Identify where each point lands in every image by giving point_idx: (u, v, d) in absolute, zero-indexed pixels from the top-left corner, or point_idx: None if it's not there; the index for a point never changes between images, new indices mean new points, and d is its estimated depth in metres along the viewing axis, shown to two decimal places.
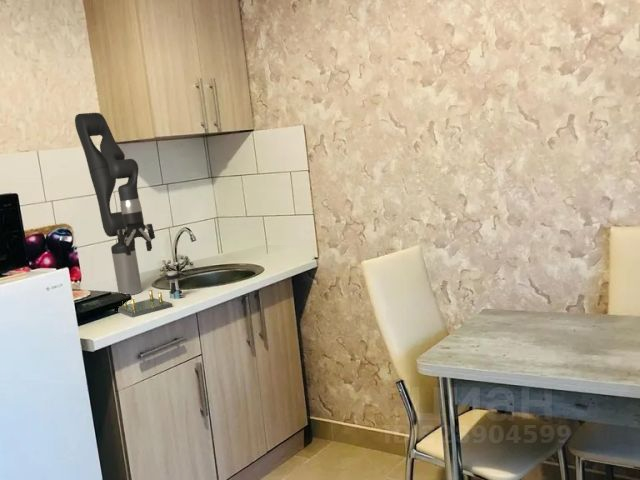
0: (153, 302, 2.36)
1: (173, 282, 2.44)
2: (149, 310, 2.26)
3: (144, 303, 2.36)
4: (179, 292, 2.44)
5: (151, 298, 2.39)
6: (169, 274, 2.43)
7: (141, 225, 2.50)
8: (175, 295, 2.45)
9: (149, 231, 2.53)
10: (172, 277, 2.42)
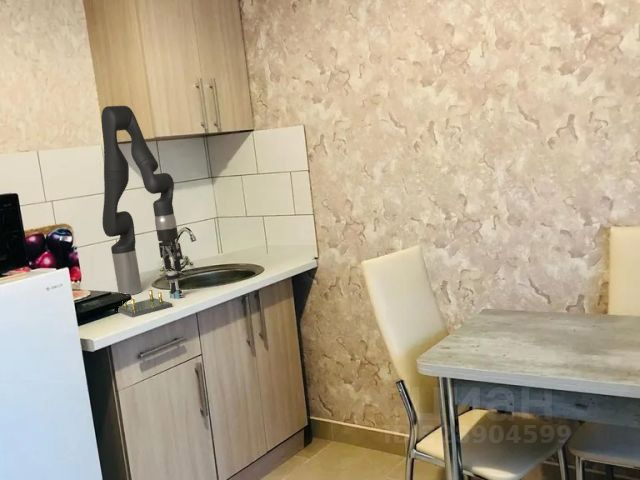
0: (153, 302, 2.36)
1: (173, 282, 2.44)
2: (149, 310, 2.26)
3: (144, 303, 2.36)
4: (179, 292, 2.44)
5: (151, 298, 2.39)
6: (169, 274, 2.43)
7: None
8: (175, 295, 2.45)
9: None
10: (172, 277, 2.42)
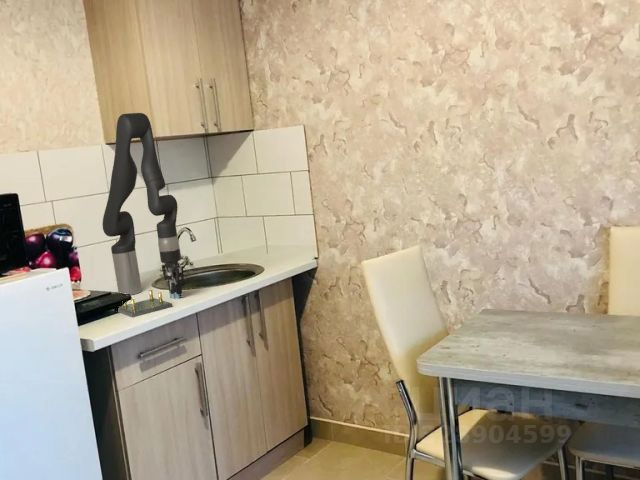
0: (153, 302, 2.36)
1: (173, 282, 2.44)
2: (149, 310, 2.26)
3: (144, 303, 2.36)
4: None
5: (151, 298, 2.39)
6: (169, 274, 2.43)
7: None
8: (175, 295, 2.45)
9: None
10: None
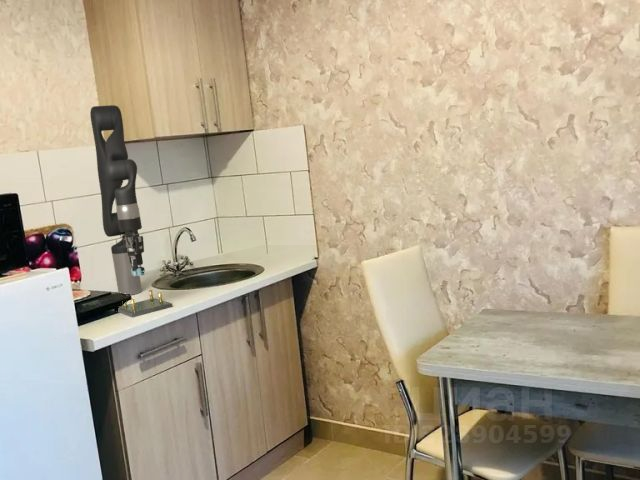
0: (153, 302, 2.36)
1: None
2: (149, 310, 2.26)
3: (144, 303, 2.36)
4: (141, 269, 2.30)
5: (151, 298, 2.39)
6: (130, 250, 2.29)
7: None
8: (137, 272, 2.30)
9: None
10: (133, 253, 2.28)
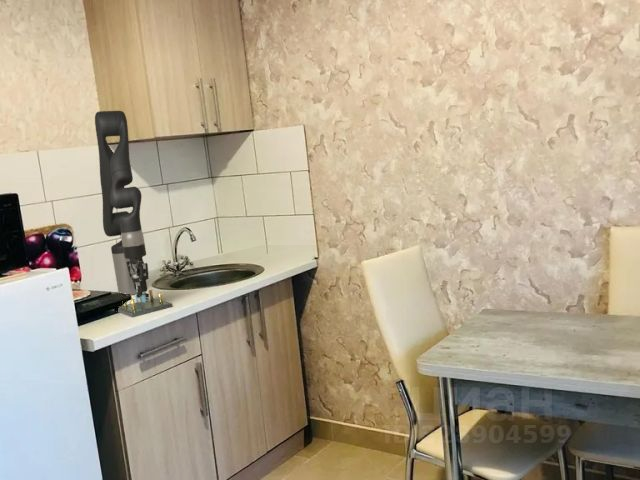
0: (153, 302, 2.36)
1: (139, 285, 2.31)
2: (149, 310, 2.26)
3: (144, 303, 2.36)
4: (146, 295, 2.31)
5: (151, 298, 2.39)
6: (135, 276, 2.30)
7: None
8: (142, 299, 2.32)
9: None
10: (138, 279, 2.29)
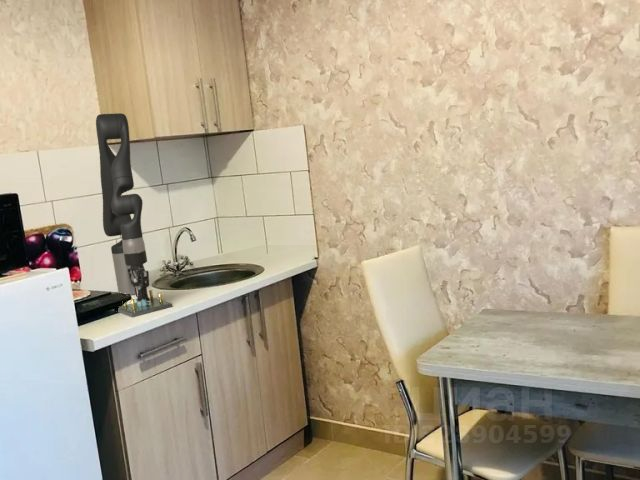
0: (153, 302, 2.36)
1: None
2: (149, 310, 2.26)
3: None
4: (146, 299, 2.32)
5: (151, 298, 2.39)
6: (135, 280, 2.30)
7: None
8: (142, 303, 2.32)
9: None
10: (138, 284, 2.30)
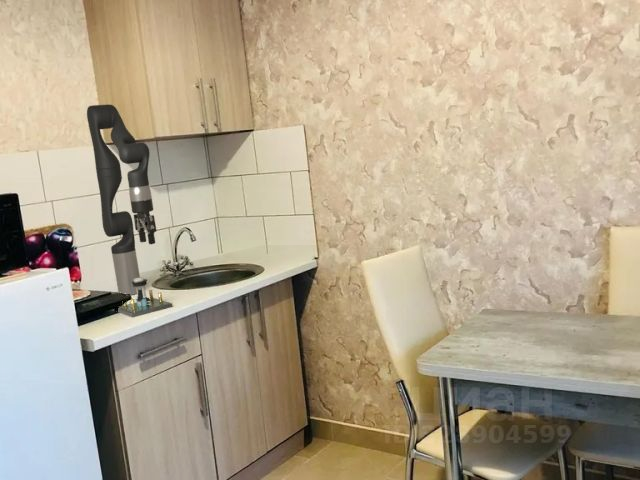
0: (153, 302, 2.36)
1: (140, 289, 2.31)
2: (149, 310, 2.26)
3: None
4: (146, 300, 2.31)
5: (151, 298, 2.39)
6: (136, 281, 2.30)
7: None
8: (142, 303, 2.32)
9: None
10: (139, 284, 2.29)
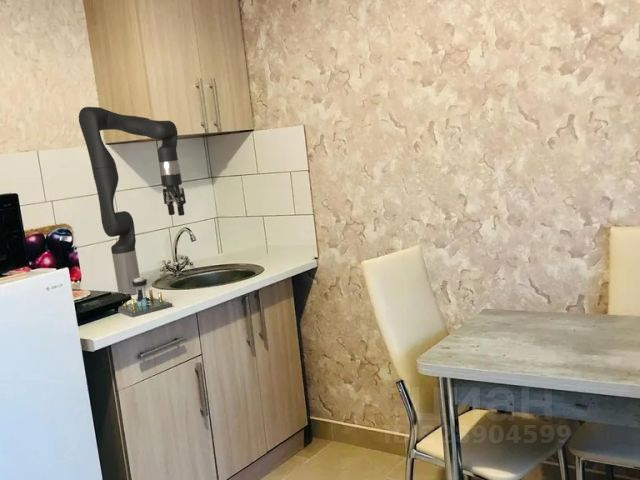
0: (153, 302, 2.36)
1: (140, 289, 2.31)
2: (149, 310, 2.26)
3: None
4: (146, 300, 2.31)
5: (151, 298, 2.39)
6: (136, 281, 2.30)
7: None
8: (142, 303, 2.32)
9: None
10: (139, 284, 2.29)
